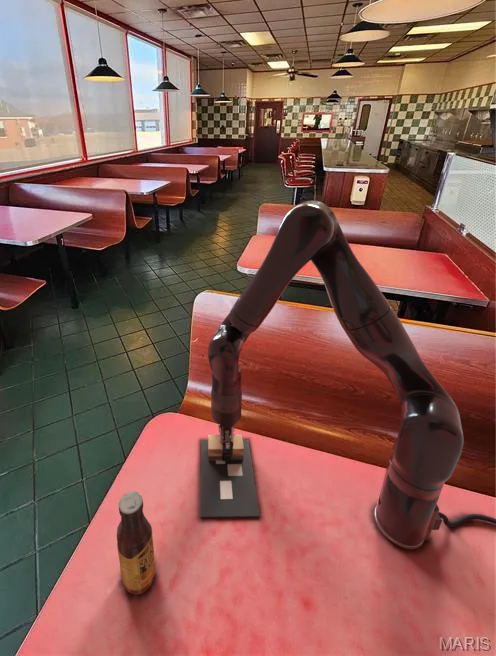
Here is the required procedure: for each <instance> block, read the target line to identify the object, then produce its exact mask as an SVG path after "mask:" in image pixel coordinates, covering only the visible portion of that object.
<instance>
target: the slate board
mask: <svg viewBox="0 0 496 656" xmlns="http://www.w3.org/2000/svg"><path fill="white" fill-rule="evenodd" d="M200 442H201V443H200V450H201V451H200V519H227V518H230V519H231V518H232V519H234V518H236V519H237V518H260V517H261V515H260V509H259V502H258V497H257V496H258V495H257V489H256V481H255V474H254V468H253V462H252V454H251V449H250V441H249V439H243V447H244V455H243V460H230V461H222V460H214V461H209V460H208V439H201V441H200Z"/></svg>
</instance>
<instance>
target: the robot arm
mask: <svg viewBox="0 0 496 656" xmlns="http://www.w3.org/2000/svg"><path fill="white" fill-rule="evenodd" d="M274 237H275V238H274V240H273V242H272V244H271V246H270V247H269V250H268V252H267V254H266V256H265V257H264V260H263V262H262V263H261V265H260V266H259V268H258V270H257V271H256V273H255V274H254V276H252V278H251V280H250V281H249V282H248V284H247V285H246V287H245V288H244V289H243V291H242V292H241V293H240V295H239V296H238V298H237V300H236V301H235V302H234V304H233V305H232V307H231V309H230V311H229V313H228V314H227V316H225V318H224V319H223V321H221V324H220V325H219V326H218V327H217V329H216V330H215V333H214V335H213V336H212V338H211V339H210V341H209V344H208V349H207V358H208V359H207V360H208V363H209V367H210V370H211V390H210V415H211V418H212V420H213V422H215V424H217V427H218V434H219V435H220V443H221V444H222V448H221V450H222V461H230V460H231V456H232V454H233V445H234V444H233V442H234V439H233V434H234V433H235V425H236V424H237V423H239V422H240V420H241V418H242V408H243V406H242V405H243V390H242V379H243V378H242V375H243V374H242V367H241V365H240V364H239V359H240V354H241V352H242V349H243V347H244V345H245V343H246V341H247V340H248V338H249V337H250V336H251V334H253V333H255V332H256V331H257V330H258V329H259V328H260V327H261V325H262V324H263V323H264V321H265V320H266V319H267V318H268V315H269V314H270V313H271V312H272V310H273V309H274V307H275V306H276V304H277V302H278V301H279V300H280V297H282V294H283V293H284V291H285V290H286V288H287V286H289V284H290V283H291V281H292V280H293V279H294V278H295V276H296V275H297V274H298V273H299V272H300V271H301V270H302V269H303V268H304V267H305V266H306V265H307V264H308V263H310V262H311V263H312V264H313V266H314V267H315V268H316V270H317V272H318V273H319V275H320V277H321V279H322V282H323V284H324V287H325V289H326V292H327V296H328V298H329V301H330V305H331V307H332V310H333V312H334V314H335V317H336V319H337V320H338V323H339V325H340V326H341V328H342V329H343V331H344V333H345V334H346V336H347V338H348V339H349V341H350V342H351V344H352V345H353V347H354V348H355V349H356V350H357V351H358V353H359V354H360V355H362V356H363V357H364V358H365V359H366V360H368V361H369V362H370V363H371V364H373V365H374V366H376V367H377V368H378V369H379V370H380V371H381V372H382V373H383V374H384V375H385V377H386V378H387V379H388V381H389V383H390V384H391V386H392V388H393V390H394V391H395V393H396V394H395V395H396V396H397V398H398V401H399V403H400V407H401V409H400V410H401V411H400V412H401V413H400V425H399V429H398V433H397V436H396V437H397V438H396V440H395V443H393V445H392V447H391V451H390V455H389V458H388V462H387V465H386V470H385V473H384V477H383V479H382V484H381V488H380V491H379V494H378V496H377V497H378V498H377V503H376V506H375V508H374V513H373V517H374V521H375V524H376V526H377V528H378V529H379V531H380V533H381V534H382V535H383V536H384V537H385V538H386V539H387V540H388V541H389V542H390V543H392V544H393V545H395V546H397V547H399V548H402V549H406V550H416V549H418V548H420V547H421V546H423V544H424V541H429V539H430V537H431V534H432V531H439V530H440V527H441V525H442V522H443V523H444V524H443V525H445V526H447V527H448V528H455V527H458V526H461V525H463V524H464V523H467V522H469V521H473V520H475V521H485V522H487V523H488V522H489V523H491V524H495V525H496V518H495V517H493V516H489V515H486V514H485V515H484V514H481V513H480V514H479V513H468V514H465V515H463V516H460V517H458V518H456V519H454V520H451V521H450V520H449V518H448V516H447V515H446V514H445V513H443V512H441V511H440V508H439V505H438V501H439V498H440V496H441V493H442V491H443V487H444V484H445V482H447V481H448V480H449V479H450V478H451V477H452V475H453V474H454V472H455V469H456V467H457V465H458V462H459V460H460V457H461V455H462V452H463V448H464V443H465V442H464V441H465V440H464V432H463V426H462V421H461V416H460V411H459V409H458V406H457V404H456V403H455V402H454V400H453V399H452V397H451V396H450V395H449V394H448V392H447V391H446V390H445V388H444V387H443V386H442V385H441V383H440V382H439V381H438V380H437V378H436V377H435V376H434V375H433V374H432V372H431V371H430V369H429V367H427V365H426V364H425V362H424V361H423V360H422V358H421V356H420V354H419V352H418V349H417V347H416V345H415V344H414V343H413V341H412V339H411V337H410V335H409V334H408V333H407V330H406V329H405V327H404V325H403V323H402V321H401V320H400V318H399V317H398V315H397V314H396V312H395V310H394V308H393V307H392V305H391V304H390V302H389V301H388V299H387V298H386V297H385V295H384V294H383V292H382V291H381V289H380V288H379V287H378V285H377V283H376V282H375V281H374V280H373V278H372V276H371V275H370V274H369V273H368V272H367V270H366V269H365V268H364V267H363V265H362V264H361V263H360V261H359V259H358V258H357V257H356V255H355V253H354V251H353V249H352V248H351V246H350V244H349V242H348V240H347V238H346V236H345V233H344V232H343V229H342V227H341V225H340V223H339V221H338V218H337V216H336V214H335V213H334V211H333V210H332V208H330V207H329V206H328V205H327V204H325V203H323V202H321V201H318V200H307V201H303V202H301V203H298V204H296V205H294V206H293V207H292V208H290V209H289V210H288V211H287V212H286V213H285V214H284V216H283V218H282V220H281V222H280V226H279V228H278V230H277V232H276V235H275V236H274ZM222 436H223V437H224V438H222ZM230 436H231V437H230ZM229 437H230V438H229Z"/></svg>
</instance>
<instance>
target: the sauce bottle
mask: <svg viewBox="0 0 496 656" xmlns="http://www.w3.org/2000/svg"><path fill="white" fill-rule="evenodd" d="M118 513H119V515H120V522H119V523H118V526H117V529H116V546H117V547H116V548H117V555H118V561H119V568H120V574H121V576H120V577H121V581H122V583H123V586H124V588H125V590H126V591H127V592H128V593H129V594H131V595H136V596H137V595H141V594H143V593H145V592H146V591H147V590H148V589H149V588H150V587H151V585H152V583H153V581H154V579H155V572H156V558H155V549H154V538H153V537H154V536H153V528H152V524H151V523H150V522H149V520H148V519H147V518H146V516H145V514H144V500H143V496H142V495H141V493H139V492H138V491H135V490H133V491H128V492H126V493H125V494H123V495H122V497H120V499H119V502H118Z"/></svg>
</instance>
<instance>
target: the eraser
mask: <svg viewBox="0 0 496 656" xmlns="http://www.w3.org/2000/svg"><path fill="white" fill-rule="evenodd" d="M230 437H231V436H230ZM230 437H229V438H230ZM222 438H224V437H223V436H222ZM233 439H234V442H233V444H234V445H233V454H232V456H231V460H243V455H244V447H243V440H244V439H243V434H242V433H240V434H239V433H237V434H234V433H233ZM207 440H208V460H209V461H214V460H222V450H221V448H222V444H221V443H220V434H208V435H207Z"/></svg>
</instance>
